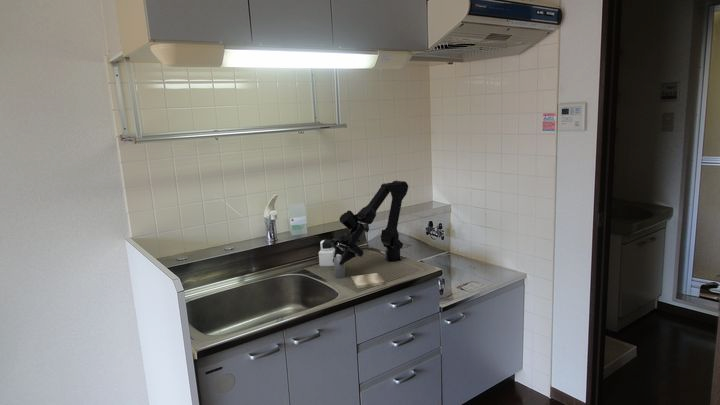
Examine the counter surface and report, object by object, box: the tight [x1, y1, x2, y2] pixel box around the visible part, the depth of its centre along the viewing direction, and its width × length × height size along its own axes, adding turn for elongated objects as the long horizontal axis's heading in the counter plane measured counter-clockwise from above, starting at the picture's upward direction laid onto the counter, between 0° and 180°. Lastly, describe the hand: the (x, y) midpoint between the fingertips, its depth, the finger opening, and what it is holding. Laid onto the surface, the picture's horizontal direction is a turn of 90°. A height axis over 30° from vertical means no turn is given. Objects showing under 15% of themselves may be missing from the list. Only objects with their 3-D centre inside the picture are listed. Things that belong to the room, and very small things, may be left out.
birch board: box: [350, 272, 386, 289], centre depth 203 cm, size 12×12×1 cm
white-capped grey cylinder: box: [333, 254, 346, 279], centre depth 211 cm, size 5×5×10 cm
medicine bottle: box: [318, 239, 335, 267], centre depth 229 cm, size 7×7×12 cm
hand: (336, 263), depth 210 cm, fingers closed on white-capped grey cylinder, 5 cm apart
